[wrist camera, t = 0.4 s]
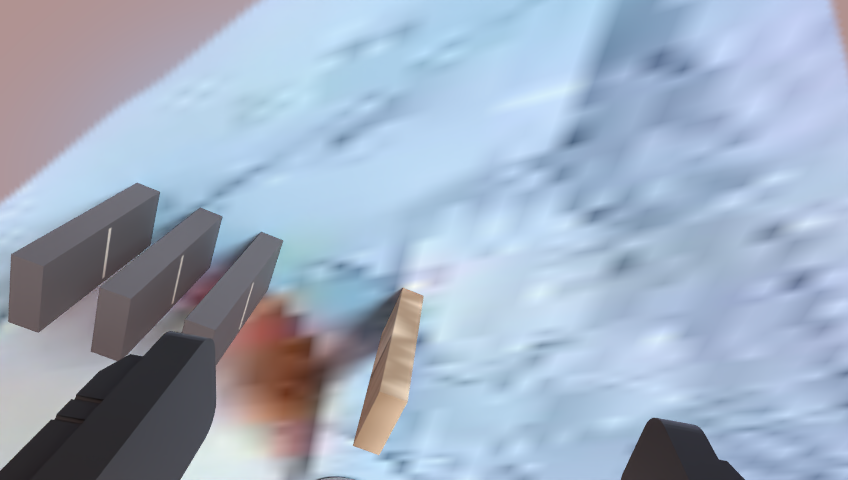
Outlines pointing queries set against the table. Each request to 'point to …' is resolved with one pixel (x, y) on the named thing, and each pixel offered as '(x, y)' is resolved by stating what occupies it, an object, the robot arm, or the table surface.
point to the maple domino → (390, 374)
